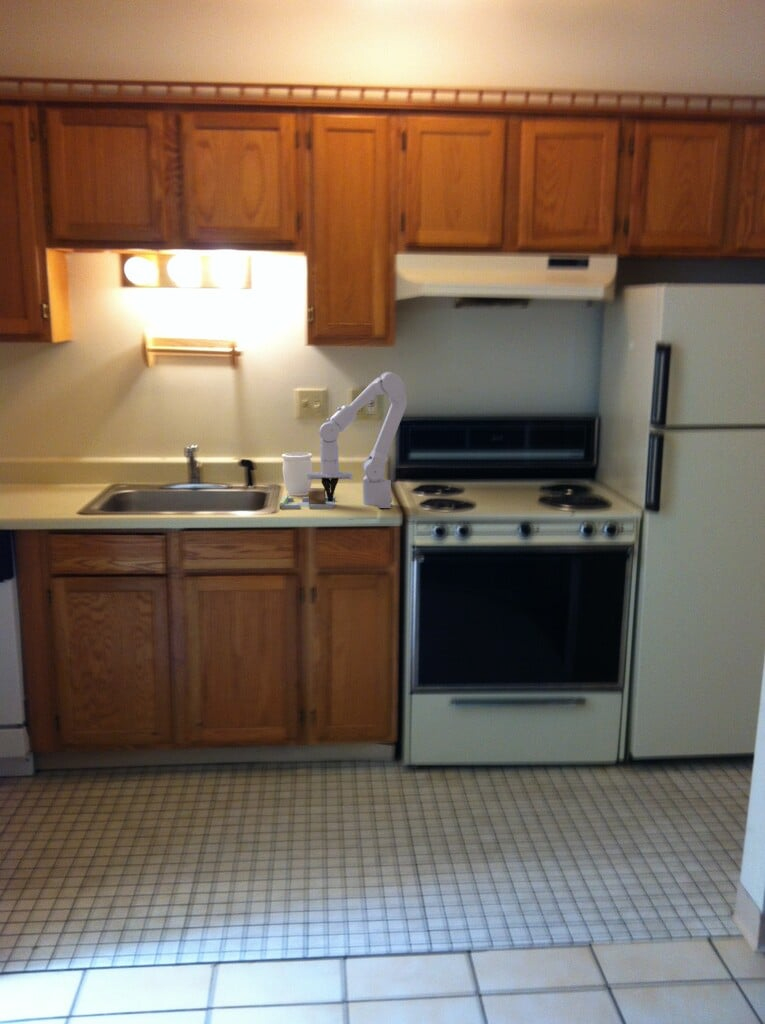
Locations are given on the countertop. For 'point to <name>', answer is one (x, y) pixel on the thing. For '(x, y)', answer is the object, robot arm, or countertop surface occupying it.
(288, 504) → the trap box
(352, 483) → the countertop surface
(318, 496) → the walnut block
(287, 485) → the jar
